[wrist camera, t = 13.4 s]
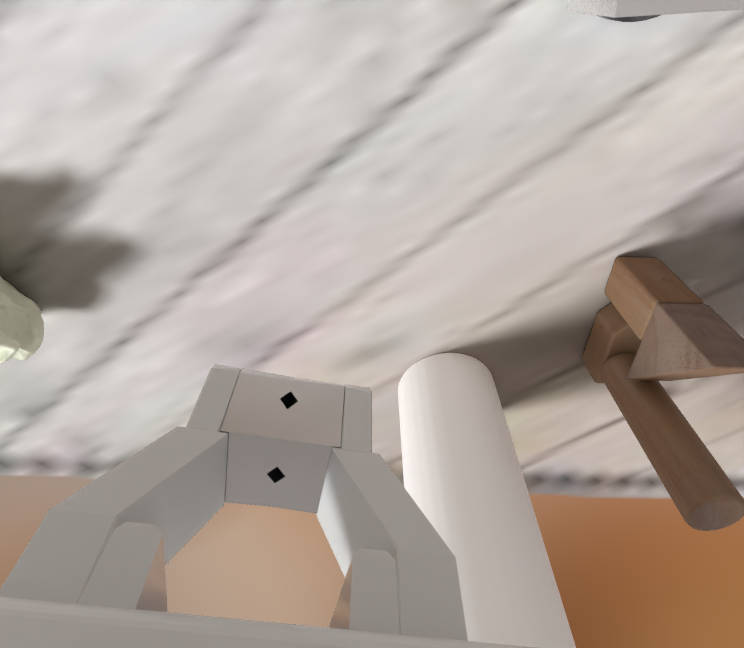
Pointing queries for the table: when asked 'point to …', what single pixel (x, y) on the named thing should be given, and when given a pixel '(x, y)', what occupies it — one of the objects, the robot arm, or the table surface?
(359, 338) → the table surface
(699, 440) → the wooden hammer
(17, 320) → the wavy plaster lump
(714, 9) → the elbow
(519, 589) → the cylinder container
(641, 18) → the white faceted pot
